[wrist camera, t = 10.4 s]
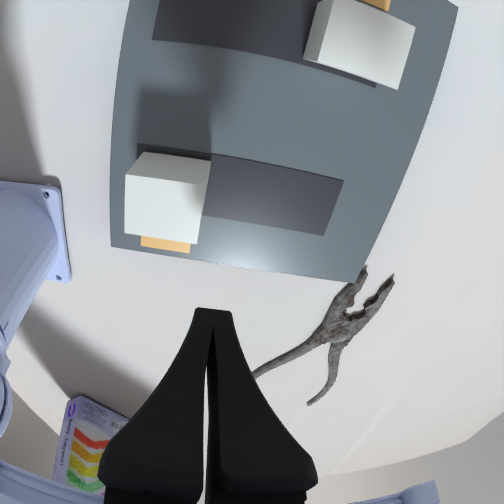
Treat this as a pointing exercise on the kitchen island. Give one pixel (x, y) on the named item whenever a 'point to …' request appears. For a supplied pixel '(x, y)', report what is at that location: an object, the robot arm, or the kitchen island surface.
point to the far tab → (166, 197)
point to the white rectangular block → (359, 41)
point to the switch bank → (270, 129)
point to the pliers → (335, 330)
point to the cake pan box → (84, 443)
